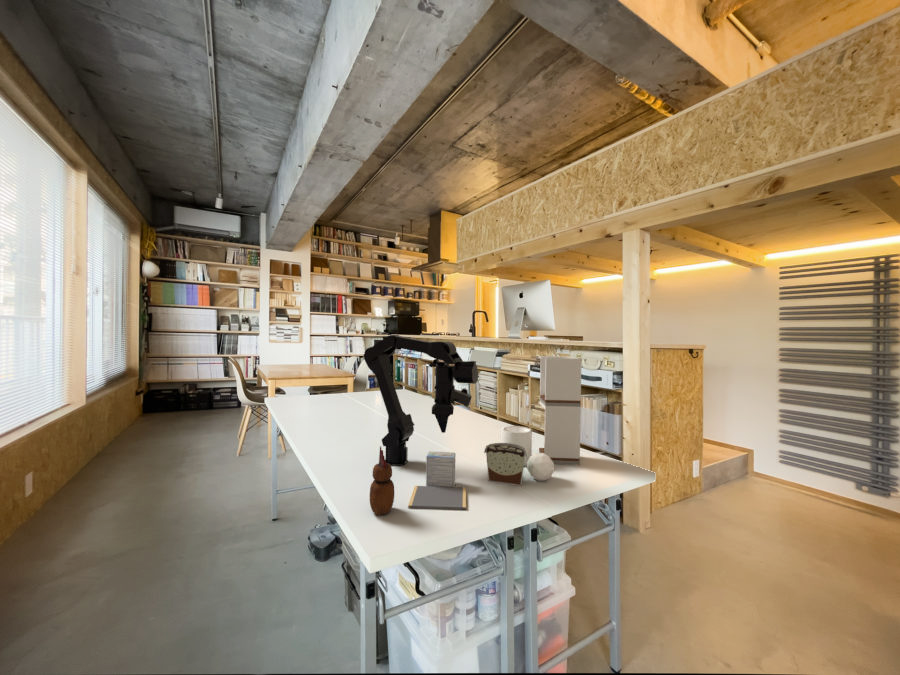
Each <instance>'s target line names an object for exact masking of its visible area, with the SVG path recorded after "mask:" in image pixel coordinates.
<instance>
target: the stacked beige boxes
mask: <svg viewBox="0 0 900 675" xmlns="http://www.w3.org/2000/svg"><path fill="white" fill-rule="evenodd" d="M539 358H540V360H539V362H540V363H539V365H540V367H539V370H540V371H539V372H540V373H539V377H540V378H539V405H540V406H541V408H543V409H544V438H543V439H544V441H543V442H544V443H543V445H544V447H539V448H538V453H544V454H546V455H547V456H549V457H550V459H551V460H552V461H553V463H554V465H573V466H574V465H575V466H580V465H581V464H580V463H581V462H580V461H581V460H580V459H581V411H582V410H581V408H582V407H581V404H582V403H581V402H582V401H581V400H582V399H581V398H582V397H581V396H582V395H581V394H582V358H579V357H575V356H556V355H555V356H552V355H551V356H550V355H549V356H547V355H546V356H545V355H543V356H541V355H540V357H539Z"/></svg>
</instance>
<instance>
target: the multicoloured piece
mask: <svg viewBox="0 0 900 675" xmlns="http://www.w3.org/2000/svg"><path fill="white" fill-rule="evenodd" d="M483 453H484V454H485V456H486V465H487V468H486V469H487V477H488V482H491V483H498V484H507V485H513V486H522V483H523V481H522V480H523V475H524V474H523V472H524V458H525V455H526V458H527V454H526V451H525V449H524V448H523V447H522V446H519V445H516V444H510V443H501V442H495V443H493V442H492V443H490V444H487V445H486V446H485V447H484V452H483Z"/></svg>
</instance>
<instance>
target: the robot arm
mask: <svg viewBox="0 0 900 675" xmlns="http://www.w3.org/2000/svg"><path fill="white" fill-rule="evenodd" d="M397 348H398V349H403V350H408V351H413V352H417V353H422V354H425V355H426V356H428V357H431V358H433V361H432V362H430V363H429V364H428V367H429V368H430V367H431V368H435V376H434V380H435V381H434V401H433V403H434V404H433V405H431V415H434V417H435V419H436V422H437V424H438V426H439V429H440V432H441V434H442V433H443V434H445V433H446V431H447V426H448V420H449V417H450V416H452V415H453V416H454V409H455V408H454V405H455V404H456V403H458V404H461V405H463V406H464V407H467V408H468V407H469V406H470V403H471V400H472V398H473V397H472V394H469V391H468V389H466V388H464V387H463V388H462V389H461V390H458V389H455V387H456V385H454V384H455V383H454V381H455V382H456V383H458V384H459V383H460V384H472V385H473V384H474V385H475V384H476V383H478V379H479V370H478V366H477V361H476V360H470V361H467V360H463V359H462V357H461V356H460V355H459V354H460V353H459V352H458V351H457V347H456V345H455V343H454V342H452V341H450V340H449V341H443V340H442V341H429V340H428V341H427V340H423V339H418V338H417V339H416V338H411V337H407V336H401V335H399V334H389V335H388V336H386V337H385V338H384V339H383V340H381V341H379V342H377V343H375V344H373V345H372V346H371V347H368V348H366V349H365V351H364V354H363V360H364V361H365V364H366V366H367V368H368V369H369V370H370V371H371V373H373V375H375V379H376V383H377V385H378V388H379V390H380V394H381V398H382V400H383V403H384V406H385V410H386V412H387V427H386V428H387V432H388V433H387V434H386V435H384V436H383V437H382V438H381V443H382V446H383V447H385V457H384V458H385V461H386V463H388V464H390V465H391V466H405V464H406V463H407V461H408V455H409V452H408V451H409V450H408V449H409V448H408V446H407V443H408V442H409V439H410V437H411V436H413V434H414V431H415V430H414V429H415V427H414V426H415V423H414V422H413V419H412V415H411V414H410V413H409V414H406V413H405V412H404V411H403V408H402V405H401V402H400V398H399V396H398V393H397V391H396V387H395V384H394V381H393V378H392V376H391V372H390V364H391V358H390V356H391V355H393V353H395V352H396V350H397Z"/></svg>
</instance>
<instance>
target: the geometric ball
mask: <svg viewBox="0 0 900 675" xmlns="http://www.w3.org/2000/svg"><path fill="white" fill-rule="evenodd" d="M526 466H527V468H526V469H527V471H528V473H529V475H530V476H531V477H532V478H533V479H534V480H536V481H546V480H548V479H550V478H552V475H553V474H554V471H555V464H554V463H553V461H552V460H551V459H550V457H549V456H547V455H546V454H544V453H539V452H537V453H534V454H532V456H530V458H529V460H528V462H527V465H526Z"/></svg>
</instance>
